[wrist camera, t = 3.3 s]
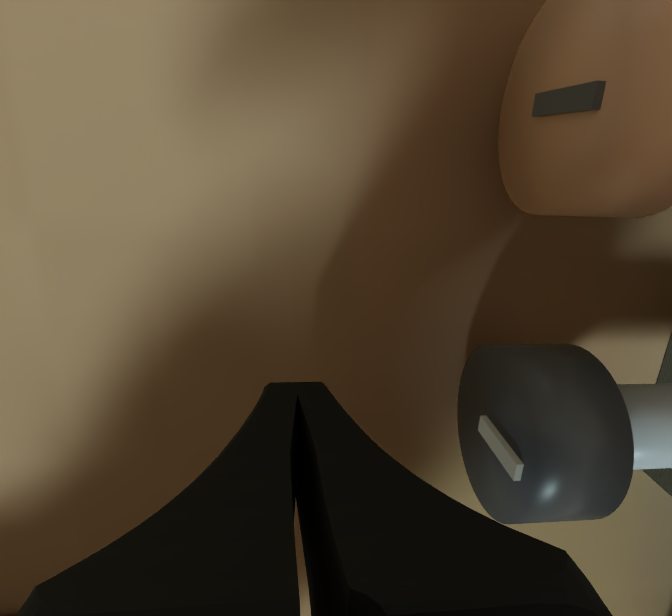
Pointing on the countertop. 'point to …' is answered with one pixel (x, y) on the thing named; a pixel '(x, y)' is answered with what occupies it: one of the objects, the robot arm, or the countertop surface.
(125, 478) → the countertop surface
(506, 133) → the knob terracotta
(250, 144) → the countertop surface
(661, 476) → the mount
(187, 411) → the countertop surface
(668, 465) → the knob dark gray
